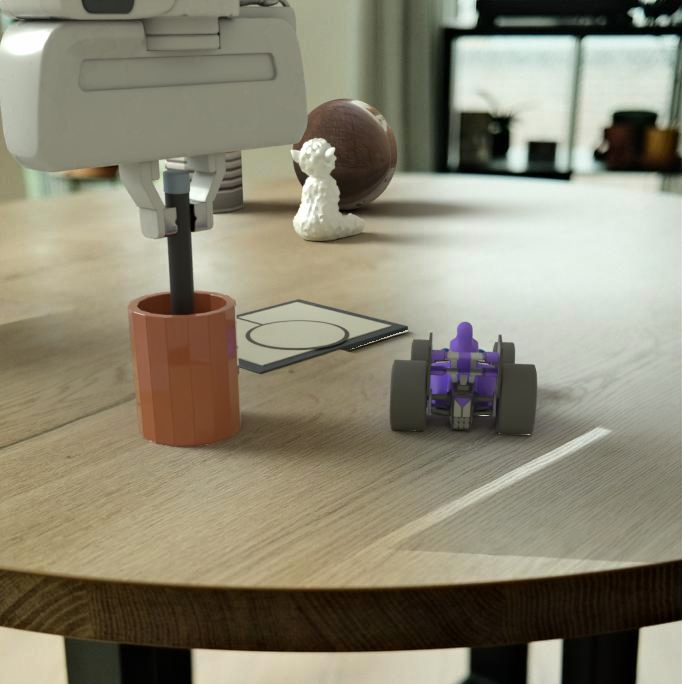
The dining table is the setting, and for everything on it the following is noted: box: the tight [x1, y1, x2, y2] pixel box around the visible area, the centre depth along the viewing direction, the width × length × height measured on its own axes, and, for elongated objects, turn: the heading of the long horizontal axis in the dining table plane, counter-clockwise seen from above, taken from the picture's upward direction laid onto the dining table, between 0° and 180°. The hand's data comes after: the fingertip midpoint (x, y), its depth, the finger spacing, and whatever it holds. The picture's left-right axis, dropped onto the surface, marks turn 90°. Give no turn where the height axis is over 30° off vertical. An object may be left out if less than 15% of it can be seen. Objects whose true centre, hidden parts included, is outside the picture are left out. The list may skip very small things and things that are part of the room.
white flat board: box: [237, 298, 409, 375], centre depth 89 cm, size 14×18×1 cm
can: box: [164, 150, 244, 214], centre depth 148 cm, size 11×11×12 cm
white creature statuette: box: [290, 138, 366, 242], centre depth 128 cm, size 10×9×12 cm
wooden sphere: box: [292, 98, 398, 211], centre depth 146 cm, size 15×15×15 cm
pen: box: [162, 170, 195, 315], centre depth 65 cm, size 2×2×14 cm
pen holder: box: [127, 289, 242, 448], centre depth 67 cm, size 7×7×9 cm
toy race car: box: [389, 321, 538, 435], centre depth 73 cm, size 10×15×6 cm, turn 174°
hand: (178, 233), depth 63 cm, fingers closed on pen, 1 cm apart
